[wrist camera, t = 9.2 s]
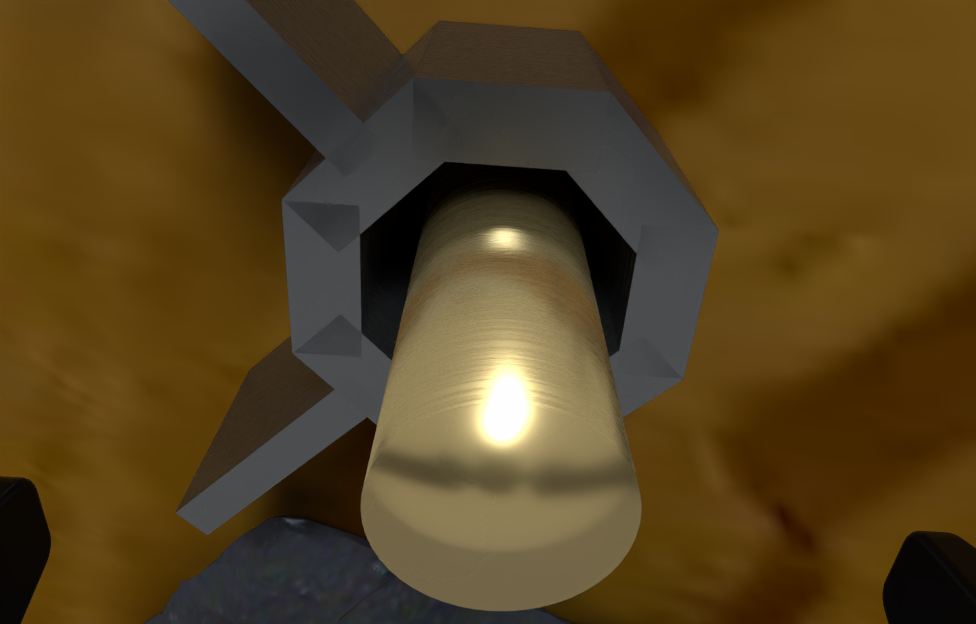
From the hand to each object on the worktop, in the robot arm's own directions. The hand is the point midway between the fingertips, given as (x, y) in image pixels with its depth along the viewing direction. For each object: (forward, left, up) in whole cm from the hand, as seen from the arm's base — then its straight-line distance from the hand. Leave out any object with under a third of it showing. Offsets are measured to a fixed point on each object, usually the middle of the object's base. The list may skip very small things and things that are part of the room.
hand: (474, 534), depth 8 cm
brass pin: (0, 0, -10) cm, 10 cm away
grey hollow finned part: (+2, +2, -10) cm, 11 cm away
